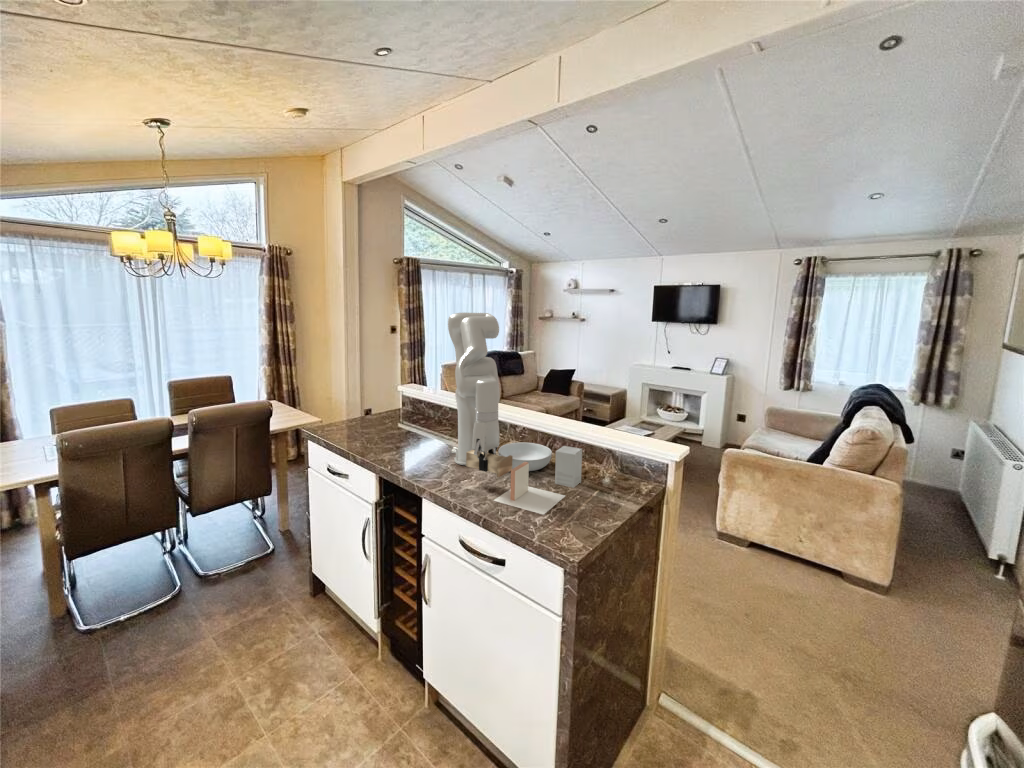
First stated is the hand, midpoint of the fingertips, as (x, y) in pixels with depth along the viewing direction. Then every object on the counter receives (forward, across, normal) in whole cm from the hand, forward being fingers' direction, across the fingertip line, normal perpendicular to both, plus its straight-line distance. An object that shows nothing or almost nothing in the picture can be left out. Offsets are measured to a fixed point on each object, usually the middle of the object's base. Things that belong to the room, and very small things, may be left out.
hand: (487, 468), depth 149 cm
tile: (+7, 0, +12) cm, 14 cm away
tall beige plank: (0, 0, 0) cm, 0 cm away
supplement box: (+8, -20, +22) cm, 30 cm away
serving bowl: (+7, -26, 0) cm, 27 cm away
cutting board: (+8, 0, +16) cm, 18 cm away
